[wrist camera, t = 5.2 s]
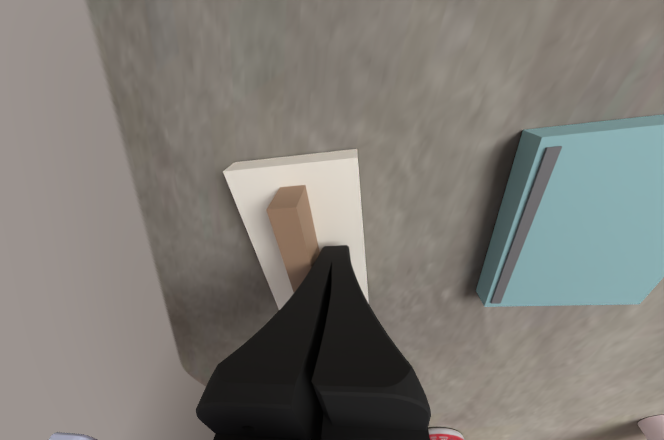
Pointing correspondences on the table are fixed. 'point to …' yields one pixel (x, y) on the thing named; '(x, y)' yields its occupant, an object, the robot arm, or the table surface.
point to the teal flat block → (580, 217)
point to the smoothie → (653, 427)
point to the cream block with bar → (300, 213)
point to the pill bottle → (444, 434)
